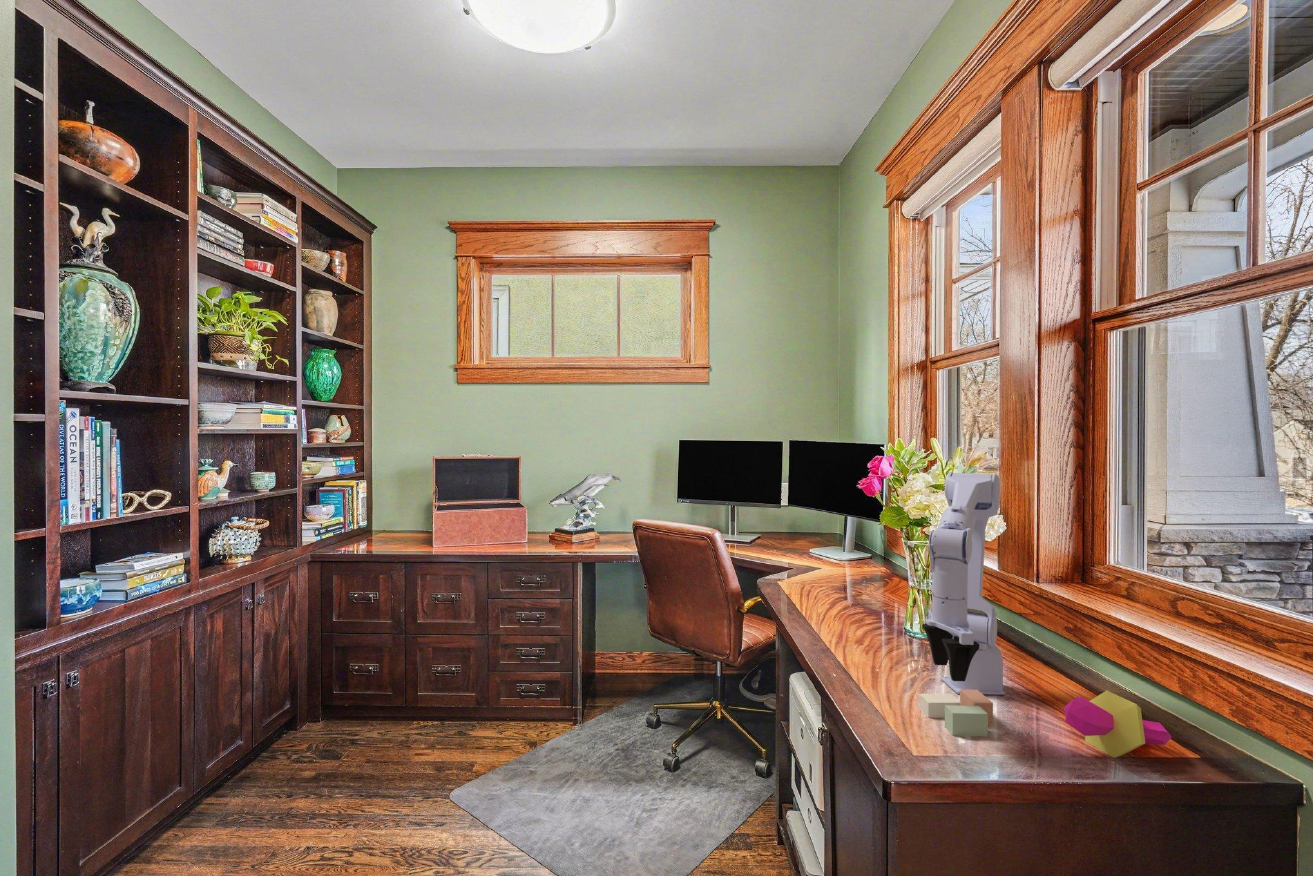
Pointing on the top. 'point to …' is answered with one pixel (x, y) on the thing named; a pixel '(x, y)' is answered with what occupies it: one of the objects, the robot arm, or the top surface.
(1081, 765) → the top surface
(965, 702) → the terracotta brick
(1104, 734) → the toy
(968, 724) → the green brick
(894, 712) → the top surface
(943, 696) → the cream brick
